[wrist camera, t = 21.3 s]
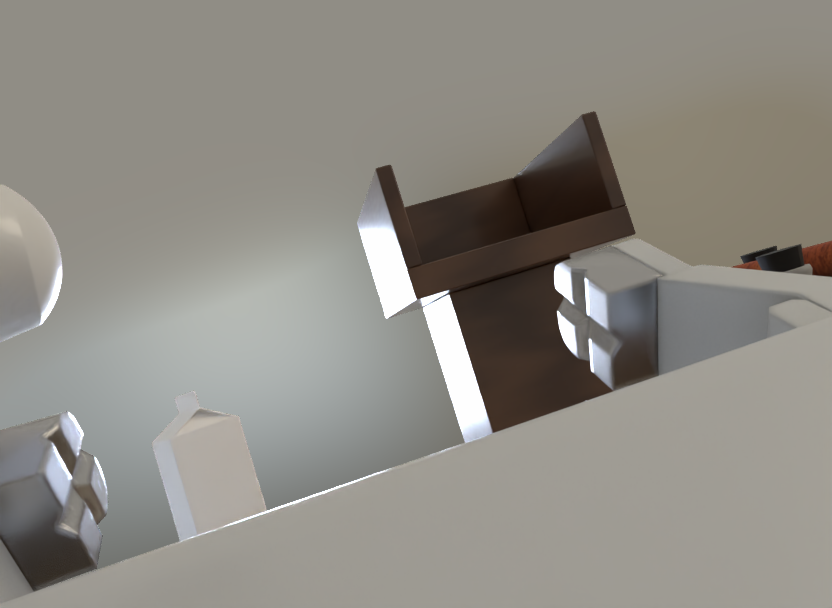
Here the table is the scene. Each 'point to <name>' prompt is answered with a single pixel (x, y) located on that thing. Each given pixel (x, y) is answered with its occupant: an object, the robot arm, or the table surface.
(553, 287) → the wooden pedestal stand
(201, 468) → the milk
